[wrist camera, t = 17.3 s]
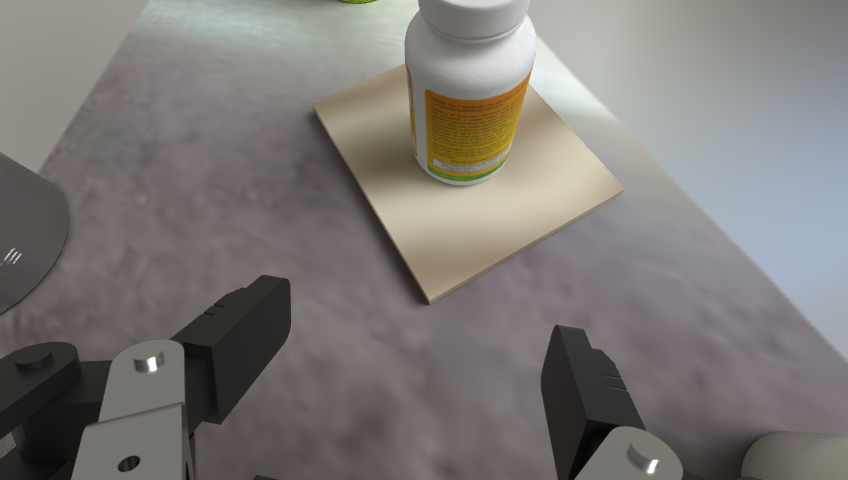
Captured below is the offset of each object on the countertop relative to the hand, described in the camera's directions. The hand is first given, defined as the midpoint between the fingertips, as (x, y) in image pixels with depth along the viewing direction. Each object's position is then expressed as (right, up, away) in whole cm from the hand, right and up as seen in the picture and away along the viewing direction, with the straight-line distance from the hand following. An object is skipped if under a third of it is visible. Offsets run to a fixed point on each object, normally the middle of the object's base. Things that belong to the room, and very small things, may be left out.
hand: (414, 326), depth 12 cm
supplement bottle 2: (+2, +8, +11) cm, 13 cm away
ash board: (+2, +8, +11) cm, 14 cm away
